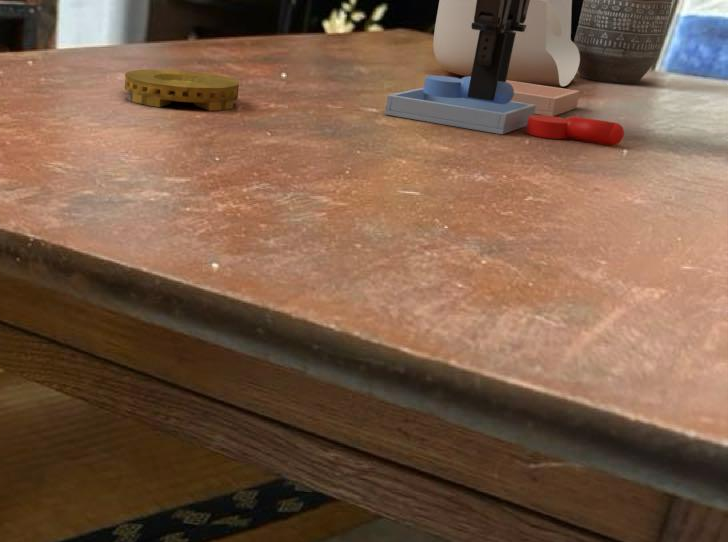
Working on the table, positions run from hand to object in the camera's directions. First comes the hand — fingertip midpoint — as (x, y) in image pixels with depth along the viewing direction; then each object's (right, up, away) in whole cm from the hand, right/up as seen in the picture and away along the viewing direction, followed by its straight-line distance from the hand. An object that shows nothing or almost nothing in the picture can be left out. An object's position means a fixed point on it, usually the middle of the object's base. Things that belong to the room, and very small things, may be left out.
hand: (485, 97), depth 118 cm
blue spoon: (-1, 0, +1) cm, 2 cm away
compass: (-32, -1, 0) cm, 33 cm away
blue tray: (-2, -2, +2) cm, 4 cm away
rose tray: (+7, +5, +16) cm, 18 cm away
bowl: (+12, +17, +38) cm, 43 cm away
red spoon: (+8, -6, -4) cm, 11 cm away
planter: (+31, +20, +47) cm, 60 cm away
